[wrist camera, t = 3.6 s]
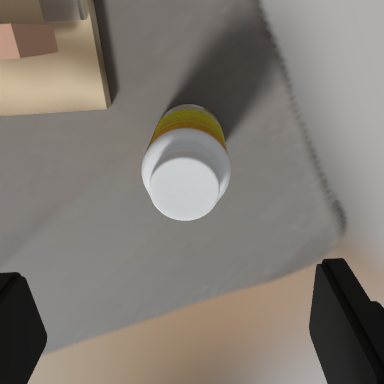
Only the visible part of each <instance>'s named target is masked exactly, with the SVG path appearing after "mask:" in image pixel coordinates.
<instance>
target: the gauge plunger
mask: <svg viewBox="0 0 384 384" xmlns="http://www.w3.org/2000/svg"><path fill="white" fill-rule="evenodd" d="M57 52H59V51H58V47H57V42H56V38H55V34H54V29H53V25H40V24H12V23H10V24H0V60H4V59H17V58H25V57H32V56H38V55H44V54H51V53H57Z"/></svg>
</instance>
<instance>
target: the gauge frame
mask: <svg viewBox="0 0 384 384" xmlns="http://www.w3.org/2000/svg"><path fill="white" fill-rule="evenodd" d="M10 23H12V24H40V25H53V29H54V34H55V38H56V42H57V47H58V51H59V52H57V53H51V54H44V55H38V56H32V57H25V58H17V59H4V60H0V116H9V115H24V114H39V113H54V112H69V111H85V110H100V109H107V108H109V107H110V106H111V99H110V93H109V88H108V82H107V76H106V70H105V65H104V59H103V53H102V47H101V42H100V36H99V30H98V24H97V18H96V13H95V7H94V1H93V0H0V24H10Z"/></svg>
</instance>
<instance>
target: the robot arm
mask: <svg viewBox="0 0 384 384" xmlns="http://www.w3.org/2000/svg"><path fill="white" fill-rule="evenodd" d="M309 330H310V336H311V339H312V342H313V344H314V347H315V350H316V353H317V356H318V358H319V361H320V364H321V366H322V369H323V372H324V375H325V378H326V380H327V383H328V384H384V308H383V307H382V306H381V304H380V303H378V302H377V301H370V299H369V297H368V296H367V294H366V293H365V291H364V290H363V288H362V286H361V285H360V283H359V281H358V280H357V278H356V277H355V275H354V274H353V272H352V270H351V269H350V267H349V266H348V264H347V262H346V261H345V260H344V259H343V258H337V259H336V258H335V259H323V261H322V264H317V266H316V273H315V282H314V290H313V298H312V307H311V315H310V324H309ZM46 342H47V333H46V331H45V328H44V325H43V323H42V320H41V317H40V315H39V312H38V309H37V307H36V304H35V301H34V299H33V296H32V293H31V291H30V288H29V286H28V283H27V280H26V278H25V277H22V276H21V274H19V273H18V272H11V273H0V384H27V383H28V381H29V379H30V377H31V375H32V373H33V370H34V368H35V366H36V364H37V362H38V360H39V358H40V356H41V354H42V352H43V350H44V348H45V346H46Z"/></svg>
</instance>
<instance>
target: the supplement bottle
mask: <svg viewBox="0 0 384 384" xmlns="http://www.w3.org/2000/svg"><path fill="white" fill-rule="evenodd" d="M230 176H231V167H230V161H229V157H228V153H227V148H226V144H225V140H224V135H223V131H222V128H221V125H220V123H219V121H218V120H217V118H216V117H215V116H214V115H213V114H212V113H211V112H210V111H209V110H207V109H206V108H204V107H201V106H198V105H193V104H185V105H180V106H177V107H174V108H172V109H171V110H169V111H168V112H167V113H165V114H164V116H163V117H162V118H161V119H160V121H159V123H158V125H157V127H156V129H155V132H154V134H153V136H152V139H151V141H150V144H149V146H148V148H147V151H146V153H145V155H144V159H143V163H142V178H143V182H144V185H145V187H146V189H147V191H148V193H149V194H150V196H151V199H152V201H153V203H154V205H155V206H156V208H157V209H158V210H159V211H160V212H162V213H163V214H164V215H166V216H168V217H170V218H173V219H176V220H183V221H187V220H194V219H197V218H200V217H202V216H204V215H206V214H207V213H208V212H210V211H211V210H212V209H213V207H214V206H215V204H216V203H217V201H218V200H219V199H220V198H221V197H222V195H223V194H224V193H225V191H226V189H227V187H228V184H229V181H230Z"/></svg>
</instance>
